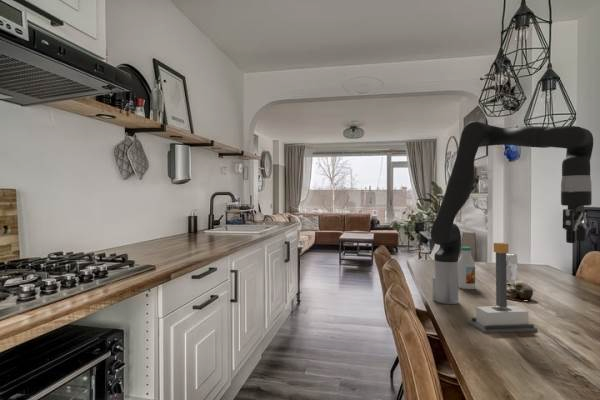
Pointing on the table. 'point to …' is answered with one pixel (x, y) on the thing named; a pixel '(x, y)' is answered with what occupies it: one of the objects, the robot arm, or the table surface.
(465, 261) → the milk bottle
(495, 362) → the table surface
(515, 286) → the skull
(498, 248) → the lever
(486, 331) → the breaker base
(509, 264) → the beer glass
